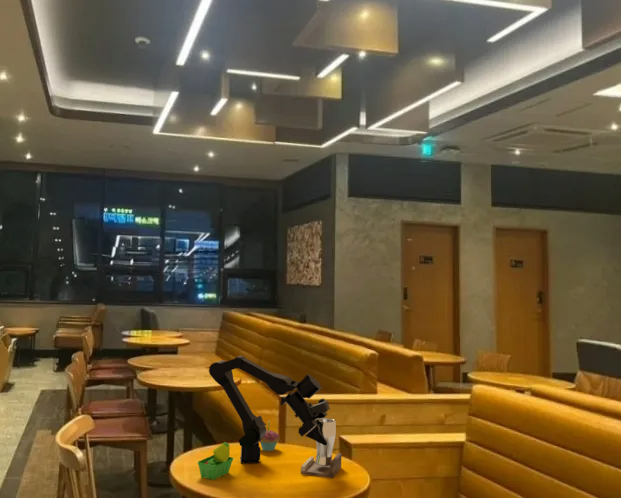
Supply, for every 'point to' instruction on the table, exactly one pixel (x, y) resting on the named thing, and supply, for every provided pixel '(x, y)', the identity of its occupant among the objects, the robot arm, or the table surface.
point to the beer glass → (328, 432)
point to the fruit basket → (216, 463)
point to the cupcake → (269, 440)
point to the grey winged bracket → (322, 467)
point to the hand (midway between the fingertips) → (328, 442)
